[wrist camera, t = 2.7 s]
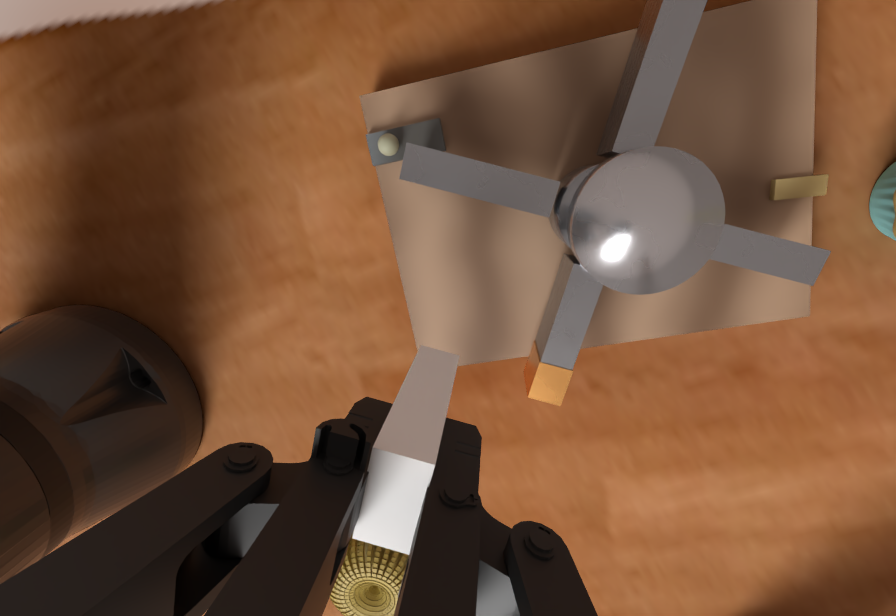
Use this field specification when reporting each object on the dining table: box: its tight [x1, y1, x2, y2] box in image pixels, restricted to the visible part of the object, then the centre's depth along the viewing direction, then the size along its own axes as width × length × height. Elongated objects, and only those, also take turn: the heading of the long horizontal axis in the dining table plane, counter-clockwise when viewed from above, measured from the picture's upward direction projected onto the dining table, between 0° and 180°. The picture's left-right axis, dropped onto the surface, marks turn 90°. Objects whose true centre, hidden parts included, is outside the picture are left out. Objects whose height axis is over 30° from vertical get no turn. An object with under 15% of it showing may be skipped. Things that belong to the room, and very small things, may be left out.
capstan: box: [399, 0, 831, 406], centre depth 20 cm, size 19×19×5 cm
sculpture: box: [330, 531, 409, 616], centre depth 32 cm, size 8×4×8 cm
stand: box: [359, 0, 829, 366], centre depth 24 cm, size 22×16×4 cm
